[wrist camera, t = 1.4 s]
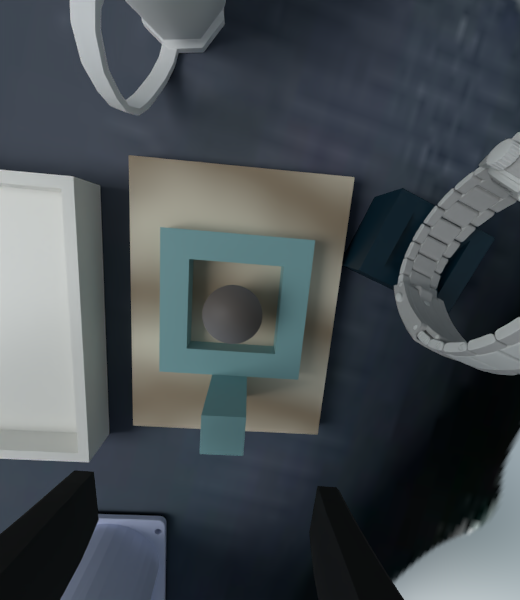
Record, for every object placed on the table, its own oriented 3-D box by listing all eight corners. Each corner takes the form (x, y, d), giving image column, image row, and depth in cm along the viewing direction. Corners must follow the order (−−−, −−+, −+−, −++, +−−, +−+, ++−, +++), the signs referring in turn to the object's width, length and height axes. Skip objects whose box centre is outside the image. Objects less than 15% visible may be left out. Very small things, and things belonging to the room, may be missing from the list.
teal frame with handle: (291, 399, 18) (307, 458, 13) (165, 391, 18) (132, 450, 13) (310, 239, 16) (336, 241, 11) (166, 227, 16) (129, 223, 11)
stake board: (314, 424, 20) (328, 465, 16) (139, 415, 19) (114, 456, 16) (348, 180, 16) (375, 165, 13) (136, 160, 16) (103, 138, 12)
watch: (469, 207, 17) (850, 156, 6) (400, 324, 18) (611, 447, 8) (390, 163, 16) (664, 22, 6) (325, 289, 18) (441, 370, 7)
